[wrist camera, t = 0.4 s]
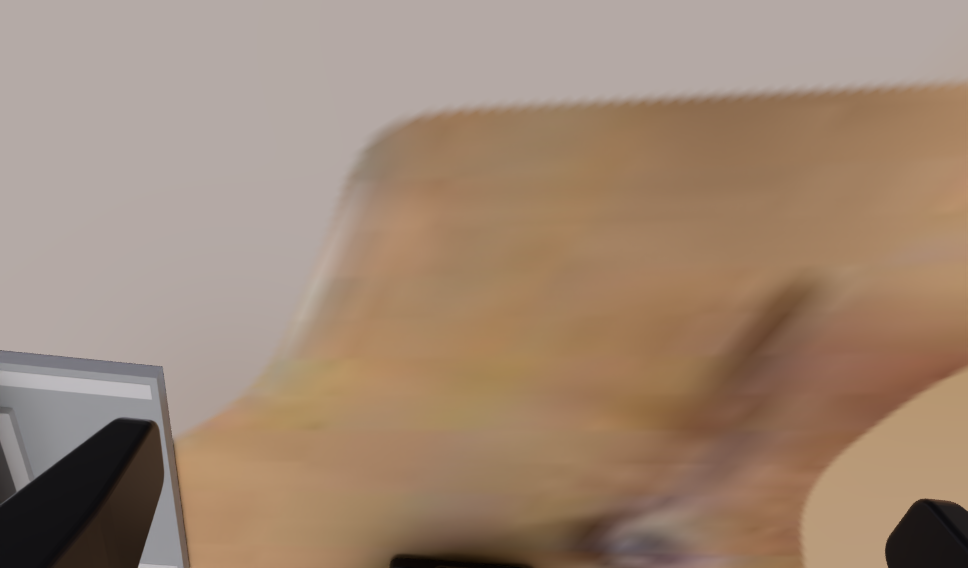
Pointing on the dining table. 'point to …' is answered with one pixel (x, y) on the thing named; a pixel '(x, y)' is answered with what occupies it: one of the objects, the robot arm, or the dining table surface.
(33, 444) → the puzzle board
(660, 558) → the dining table surface
